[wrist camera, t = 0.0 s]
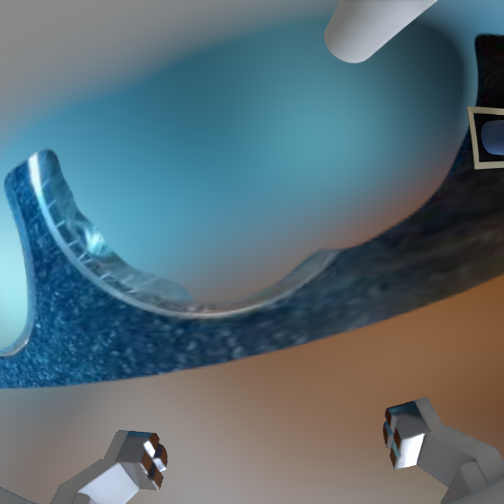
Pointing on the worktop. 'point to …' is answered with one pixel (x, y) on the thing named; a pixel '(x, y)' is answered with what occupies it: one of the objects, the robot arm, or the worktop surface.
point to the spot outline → (474, 140)
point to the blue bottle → (493, 137)
